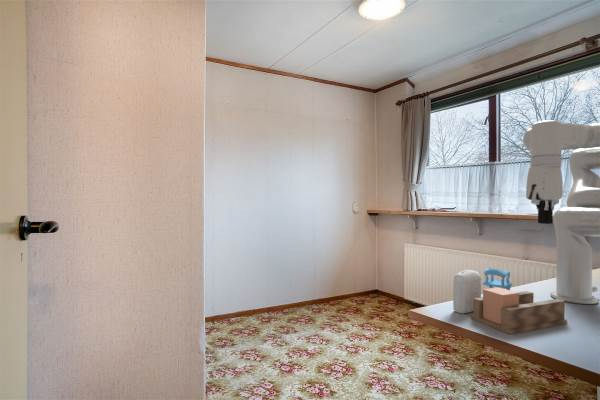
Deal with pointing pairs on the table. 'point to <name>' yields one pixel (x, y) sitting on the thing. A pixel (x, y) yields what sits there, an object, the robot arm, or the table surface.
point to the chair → (493, 282)
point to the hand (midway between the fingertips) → (545, 223)
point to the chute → (524, 314)
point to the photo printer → (466, 290)
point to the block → (497, 302)
